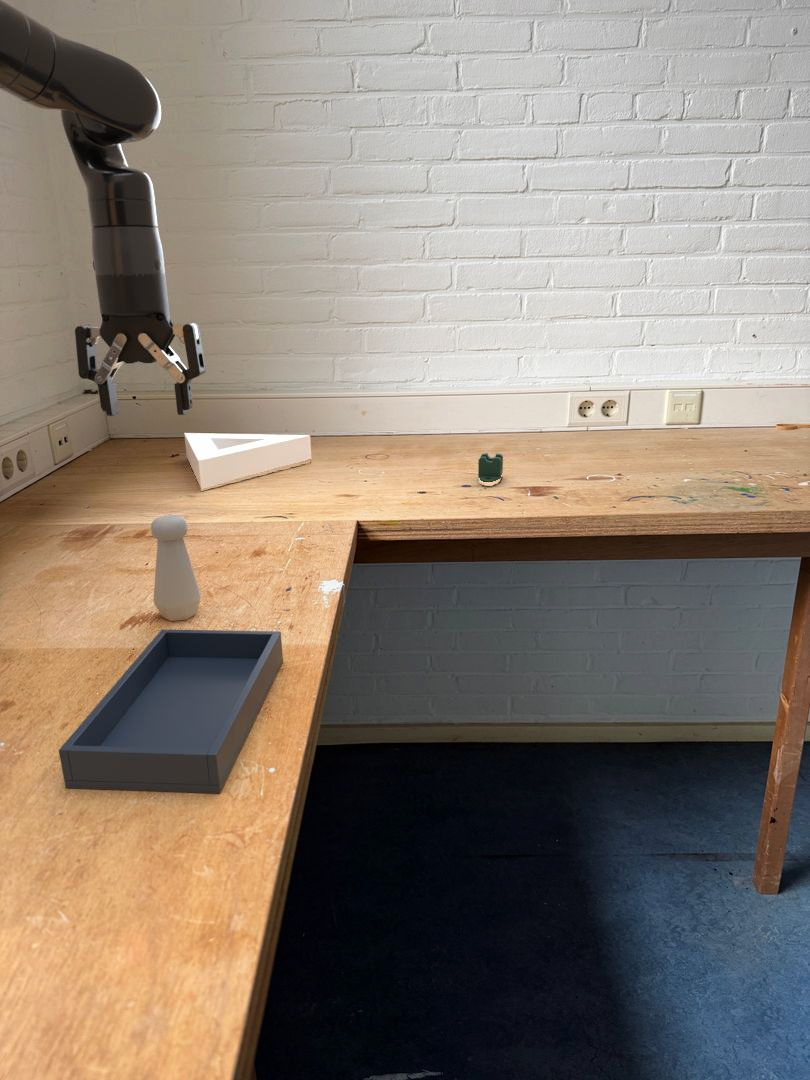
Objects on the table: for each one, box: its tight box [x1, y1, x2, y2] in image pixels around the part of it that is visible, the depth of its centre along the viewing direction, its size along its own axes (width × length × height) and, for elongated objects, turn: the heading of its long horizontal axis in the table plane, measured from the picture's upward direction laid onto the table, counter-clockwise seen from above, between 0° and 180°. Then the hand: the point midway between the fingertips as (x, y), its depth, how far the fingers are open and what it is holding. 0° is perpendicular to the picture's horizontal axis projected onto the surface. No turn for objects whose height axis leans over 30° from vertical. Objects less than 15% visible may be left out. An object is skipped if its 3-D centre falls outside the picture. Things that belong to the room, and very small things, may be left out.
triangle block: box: [183, 432, 312, 490], centre depth 169 cm, size 30×26×6 cm
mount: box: [477, 452, 504, 482], centre depth 162 cm, size 11×4×5 cm, turn 167°
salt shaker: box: [150, 514, 202, 622], centre depth 100 cm, size 6×6×13 cm
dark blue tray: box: [58, 628, 284, 794], centre depth 78 cm, size 14×24×4 cm, turn 175°
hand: (148, 414), depth 95 cm, fingers open, 8 cm apart
